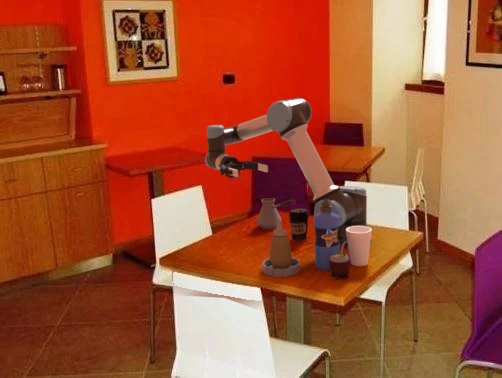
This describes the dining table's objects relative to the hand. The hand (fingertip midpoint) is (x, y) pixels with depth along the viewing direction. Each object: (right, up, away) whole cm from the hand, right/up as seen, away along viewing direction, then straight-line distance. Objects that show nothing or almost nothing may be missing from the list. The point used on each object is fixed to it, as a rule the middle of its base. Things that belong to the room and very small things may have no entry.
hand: (252, 171), depth 240 cm
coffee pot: (+11, -25, +32) cm, 42 cm away
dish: (+11, -37, -19) cm, 43 cm away
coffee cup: (+20, -29, +15) cm, 38 cm away
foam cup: (+39, -35, -16) cm, 55 cm away
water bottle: (+28, -36, -18) cm, 49 cm away
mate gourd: (+31, -38, -29) cm, 57 cm away
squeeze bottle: (+10, -36, -19) cm, 42 cm away
